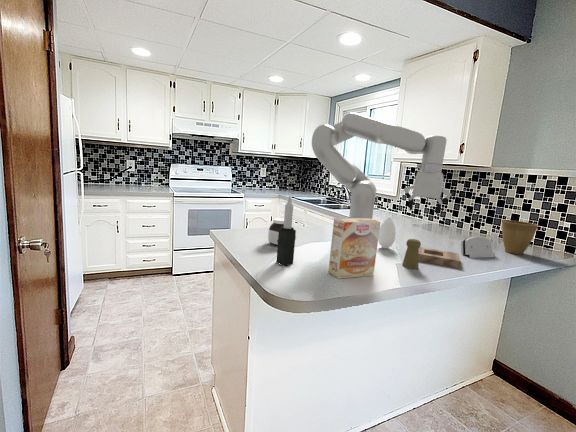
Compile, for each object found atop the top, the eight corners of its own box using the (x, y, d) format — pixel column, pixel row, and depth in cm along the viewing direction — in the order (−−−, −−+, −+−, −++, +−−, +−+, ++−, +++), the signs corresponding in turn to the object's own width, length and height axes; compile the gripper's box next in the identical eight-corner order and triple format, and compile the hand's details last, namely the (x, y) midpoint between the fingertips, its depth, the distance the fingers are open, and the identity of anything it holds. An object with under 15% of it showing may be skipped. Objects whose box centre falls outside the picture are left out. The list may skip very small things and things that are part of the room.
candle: (284, 260, 121) (290, 195, 117) (294, 263, 117) (300, 197, 113) (275, 262, 117) (279, 195, 113) (284, 266, 114) (289, 197, 110)
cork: (415, 264, 128) (419, 238, 126) (420, 269, 122) (424, 242, 120) (400, 263, 129) (404, 237, 127) (404, 268, 123) (408, 240, 121)
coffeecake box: (338, 279, 105) (344, 221, 102) (327, 271, 111) (332, 217, 108) (374, 276, 111) (381, 221, 108) (362, 269, 117) (368, 217, 114)
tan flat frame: (407, 258, 136) (408, 251, 136) (409, 251, 149) (410, 245, 148) (459, 268, 128) (460, 261, 127) (457, 259, 140) (458, 253, 140)
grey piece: (470, 257, 146) (467, 236, 147) (461, 258, 150) (458, 237, 152) (495, 256, 151) (493, 236, 153) (486, 257, 156) (484, 237, 157)
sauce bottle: (375, 245, 156) (380, 209, 153) (391, 247, 155) (396, 210, 152) (377, 249, 148) (382, 211, 145) (395, 251, 147) (400, 213, 144)
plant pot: (538, 256, 158) (545, 225, 155) (515, 256, 154) (522, 224, 152) (511, 248, 172) (517, 219, 170) (489, 248, 168) (495, 219, 166)
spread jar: (266, 245, 139) (267, 219, 138) (271, 239, 150) (273, 215, 149) (292, 248, 138) (295, 222, 136) (296, 242, 149) (298, 218, 147)
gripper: (406, 166, 123) (399, 209, 126) (455, 170, 115) (447, 216, 118) (408, 166, 130) (402, 207, 133) (455, 170, 122) (447, 214, 125)
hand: (423, 211), depth 125 cm, fingers open, 9 cm apart
